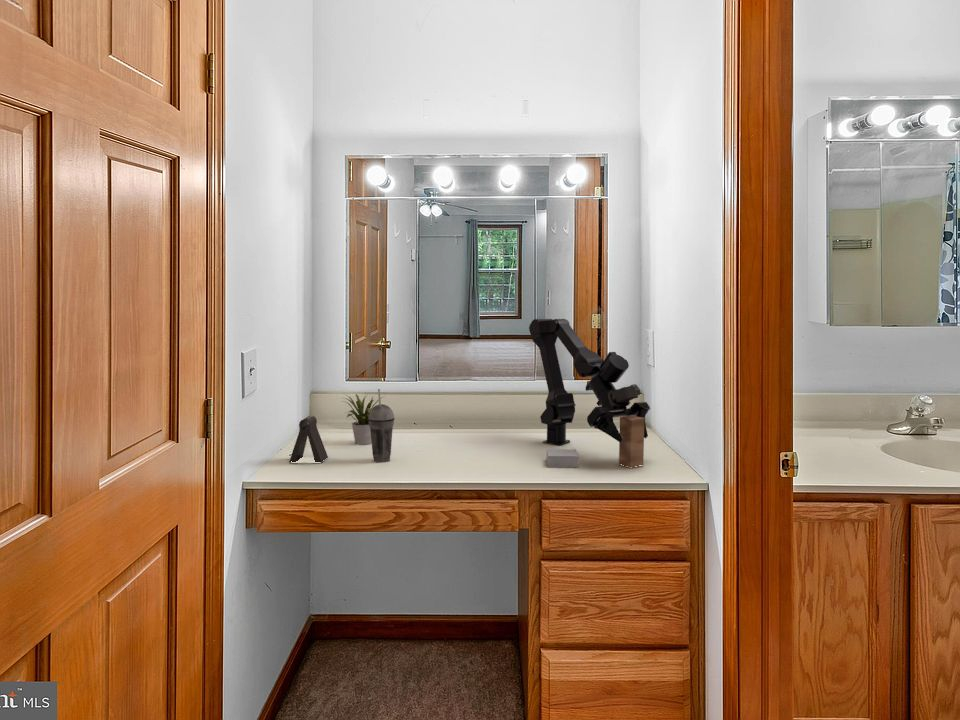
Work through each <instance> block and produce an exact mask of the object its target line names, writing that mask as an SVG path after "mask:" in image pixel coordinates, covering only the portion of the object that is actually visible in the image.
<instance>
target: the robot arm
mask: <svg viewBox="0 0 960 720" xmlns="http://www.w3.org/2000/svg"><path fill="white" fill-rule="evenodd" d="M528 331H529V333H530V337H531V339H532V342H533V343H534V344H535V345H536V346H537V347H538V349H539V352H540V353H539V354H540V357H541V361H542V367H543V368H542V369H543V372H544V376H545V381H546V385H547V391H548V393H547V397H546V399H545V407H546V408H545V409H544V410H543V412H542V413H541V415H540V416H539V417H540V421H541V424H543V425H546V439H545V440H542V443H543V444H549V445H550V444H551V445H557V446H563V445H566V444H568V443H570V442H571V439H567V424H572V423H573V420H574V416H575V412H576V406H577V405H576V403H575V400H574V399H575V398H574V395H573V393H572V392H568V391H567V390H566V389H565V385H564V379H563V376H562V371H561V366H560V362H559V357H558V352H557V348H556V344H557V343H556V342H557V340H558V339H559V341H560V342H561V344H562V345H563V346H564V347H565V349H566V350H567V351H568V353H569V354H570V355H571V357H572V359H573V367H574V368H575V371H576V373H577V374H578V376H579V377H581V378H591V379H590V380H587V381H586V385H585V391H586V392H587V391H592V392H593V393H594V395H595V397H596V399H597V402H596V405H597V406H594V408H593V409H592V410H591V411H590V413H589V414H588V415H587V417H586V422H587V423H588V425H589V427H590V428H593V427H594V429H597V430H600V431H601V432H603V433H604V434H606V435H608V436H609V437H610V438H613V439H614V440H615V441H617V442H618V443H619V442H621V441H622V437H621V435H620V430H618V427H617V426H616V424H615V422H614V418H620V417H624V416H637V417H642V418H644V439H647V438H648V436H649V434H648V429H647V424H646V415H647V414H648V412H649V411H650V409H651V407H650V405H649V404H648V402H647V401H639V402H638V401H637V402H633V404H631V401H632V400H635V399H638V398H639V396H640V395H641V393H642V391H641V389H640V387H639V386H638V385H637V383H636V384H631V385H629V386H624V387H620V388H618V389H616V387H615V386H614V384H615V383H618V381H619V380H620V379H621V378H622V376H623V375H624V374H625V373H626V371H628V369H629V367H630V366H629V365H630V364H629V362H628V360H627V359H626V358H624V357H623V356H621V355H620V354H617V352H616V351H610V352H608V353H607V355H606V357H605V358H604V360H603V358H602V357H601V356H600V355H599V354H598V353H597V352H595V351H593V350H591V349H589V348H588V347H587V346H586V345H585V343H584V342H583V340H582V339H581V338H580V337H579V335H578V334H577V333H576V332H575V330H574V329H573V328H572V326H571V325H570V321H569V320H568V319H566V318H554V319H553V318H534V319H532V320H531V323H530V324H529V327H528ZM630 404H631V406H630V407H629V408H627V407H628V406H629V405H630Z"/></svg>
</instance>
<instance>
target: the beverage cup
mask: <svg viewBox="0 0 960 720" xmlns="http://www.w3.org/2000/svg"><path fill="white" fill-rule="evenodd" d="M377 393H378V394H377V395H378V399H379V401H378V404H375V405H374V406H373V408H372V407H371V408H372V409H371V411H370V413H369V412H368V413H369V418H368V420H369V427H370V432H371V442H372V444H371V450H372V457H373V462H374V463H388V462H390V461H391V455H392V454H391V453H392V441H393V428H394V424H395V419H396V418H395V415H394V412H393V410H392V408H391V407H390V406H388V405H386V404H382V401H381V399H382V398H381V389H380V388H378V389H377ZM380 398H381V399H380Z"/></svg>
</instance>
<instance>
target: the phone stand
mask: <svg viewBox="0 0 960 720" xmlns="http://www.w3.org/2000/svg"><path fill="white" fill-rule="evenodd" d="M317 421H318V420H317V417H316V416H314V415H312V416H310V415H309V416H307V417H305V418H303V419H301V420H300V421H299V424H298V426H299V429H298V431H299V432H298V434H297V437H296V440H295V442H294V443H295V444H294V446H293V448H292V453H291V454H290V457H289V458H290V459H289V460H288V461H289V462H291V461H292V462H296V461H298V460H299V459H300V458H302V457H303V456H304V453H305V448H306V444H307V440H308V442H309V446H310V449H311V452H312V455H313V456H312V457H314V460H315V462H322V461H323V460H325V459H326V458H327V459H329V456H328V453H327V450H326V448H325V445H324V442H323V440H322V438H321V435H320V432H319V429H318V426H317V423H318V422H317ZM327 459H326V460H327ZM326 460H325V461H326ZM322 463H323V462H322Z"/></svg>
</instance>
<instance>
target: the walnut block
mask: <svg viewBox="0 0 960 720" xmlns="http://www.w3.org/2000/svg"><path fill="white" fill-rule="evenodd" d="M619 433H620V435H621V437H622V441H621V442H618V445H619V447H618V448H619V449H618V450H619V452H618V454H619V455H618V465H619V464H622V465H624V466H623V467H625V466H628V467H635V466H639V465H643V466H644V455H645V454H644V452H645V451H644V450H645V449H644V445H645V438H644V418H642V417H637V416H624V417H619ZM628 467H627V468H628Z"/></svg>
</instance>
